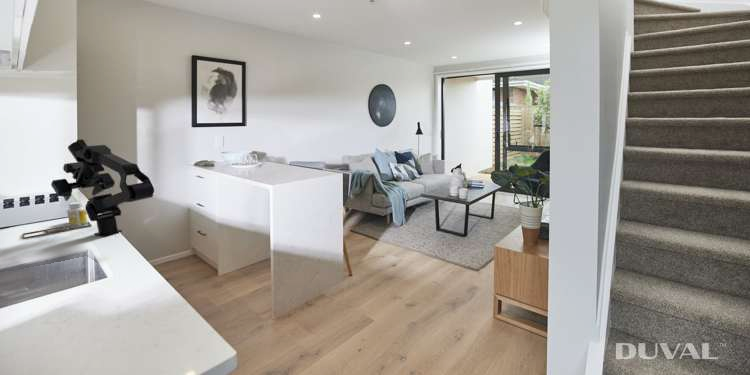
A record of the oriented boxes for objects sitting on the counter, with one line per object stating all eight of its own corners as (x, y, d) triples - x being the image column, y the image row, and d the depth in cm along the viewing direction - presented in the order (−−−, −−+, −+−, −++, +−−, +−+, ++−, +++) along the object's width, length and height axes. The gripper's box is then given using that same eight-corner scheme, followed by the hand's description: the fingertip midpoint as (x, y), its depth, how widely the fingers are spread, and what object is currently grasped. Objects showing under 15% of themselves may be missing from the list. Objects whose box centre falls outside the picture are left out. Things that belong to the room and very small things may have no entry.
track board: (88, 222, 153) (88, 221, 152) (91, 226, 148) (91, 225, 148) (22, 234, 139) (22, 233, 139) (23, 239, 134) (23, 237, 134)
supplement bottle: (71, 229, 144) (66, 205, 142) (70, 226, 148) (65, 203, 146) (88, 226, 147) (84, 203, 145) (87, 223, 151) (82, 200, 149)
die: (84, 219, 158) (81, 207, 157) (85, 221, 154) (83, 209, 153) (69, 222, 154) (66, 209, 153) (70, 224, 151) (68, 211, 150)
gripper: (105, 152, 145) (95, 178, 153) (47, 158, 129) (39, 186, 136) (120, 173, 143) (109, 198, 151) (63, 181, 127) (54, 209, 134)
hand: (79, 197), depth 143 cm, fingers open, 9 cm apart
